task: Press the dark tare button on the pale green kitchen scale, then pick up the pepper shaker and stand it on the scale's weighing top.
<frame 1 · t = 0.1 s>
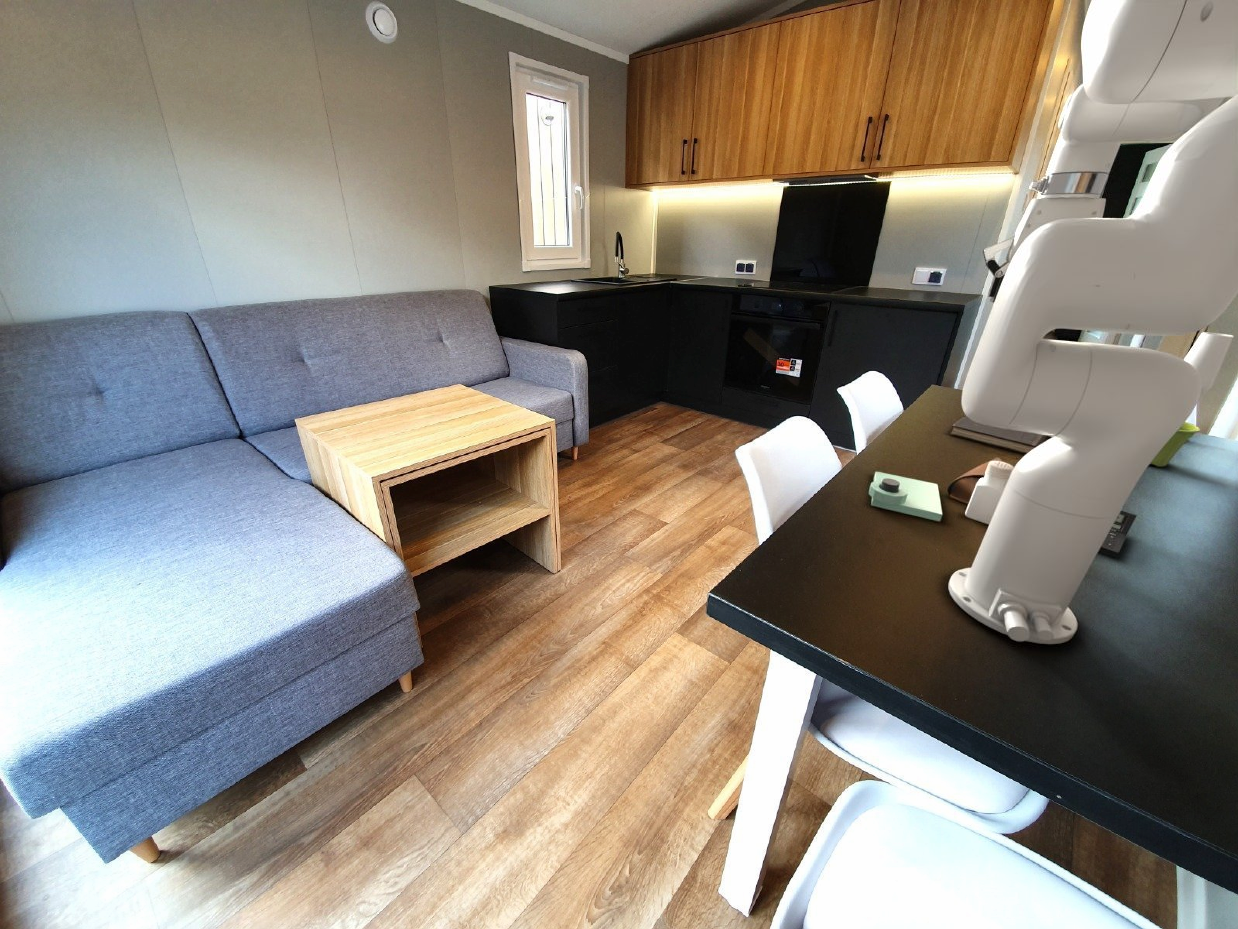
hand: (1027, 304, 83), 31 cm above the table, tool pointing down, fingers open, 9 cm apart
sunglasses case: (990, 492, 88), on the table
tare button: (889, 485, 81), point 3 cm above the table, slide at 0.1 cm
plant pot: (1145, 461, 103), on the table
scale: (904, 498, 85), on the table
hardcover book: (1001, 433, 116), on the table
pepper shaker: (979, 518, 79), on the table
champagne flute: (1161, 436, 118), on the table
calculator: (1081, 531, 77), on the table
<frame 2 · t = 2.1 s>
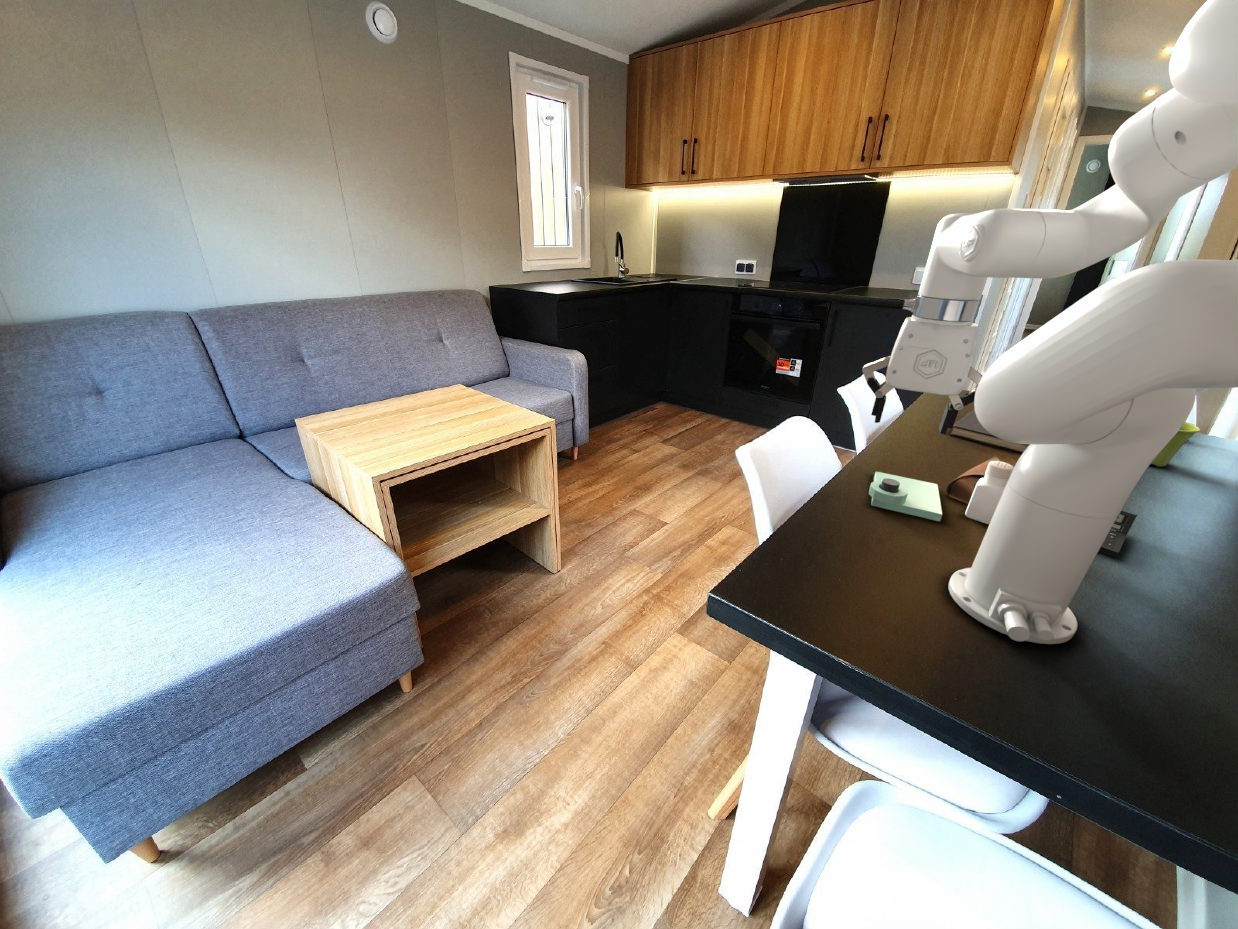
hand: (908, 425, 76), 14 cm above the table, tool pointing down, fingers open, 8 cm apart
nothing on the table moved.
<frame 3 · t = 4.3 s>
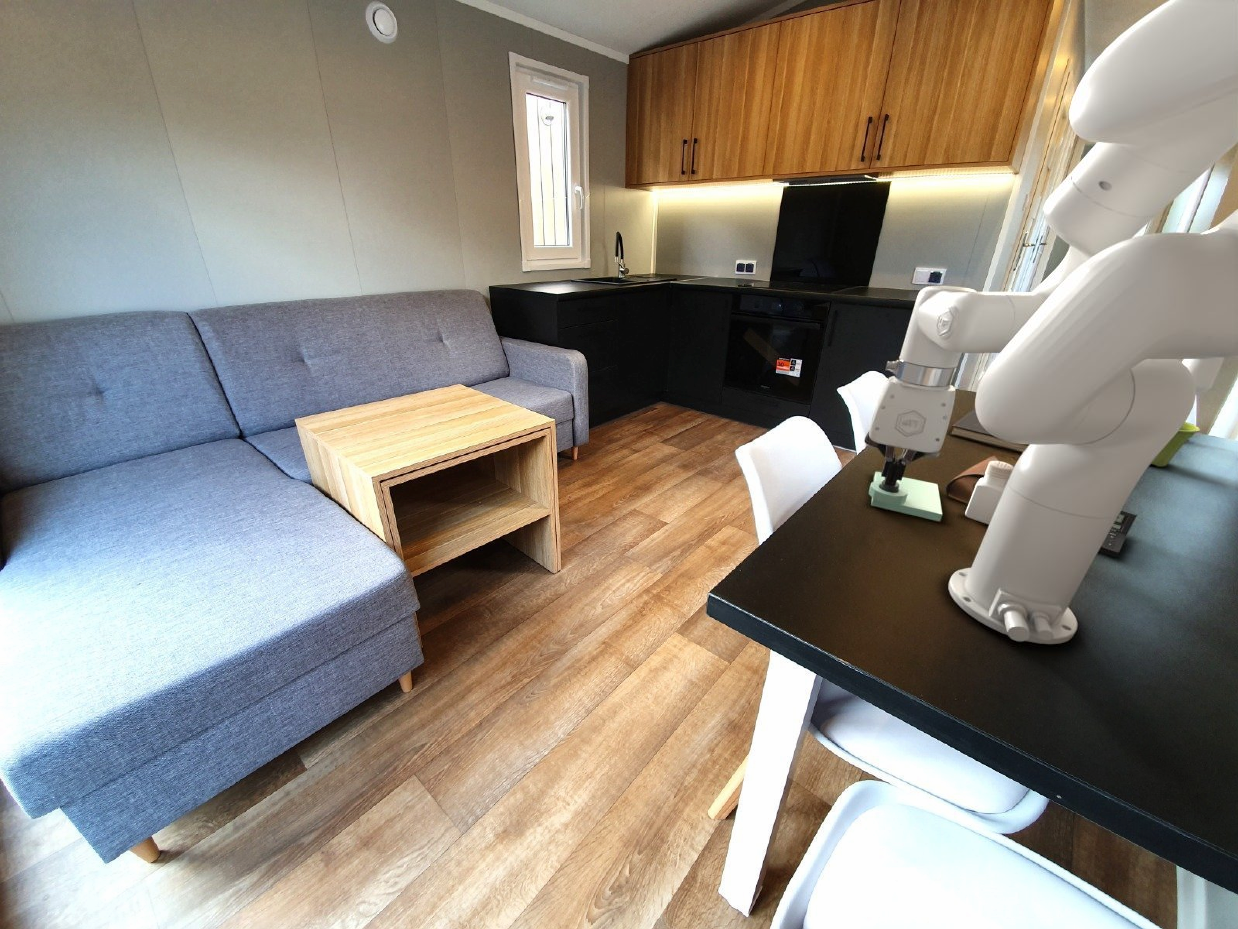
hand: (889, 481, 81), 4 cm above the table, tool pointing down, fingers closed
tare button: (889, 487, 81), point 3 cm above the table, slide at -0.1 cm, touching gripper
everything else where it was.
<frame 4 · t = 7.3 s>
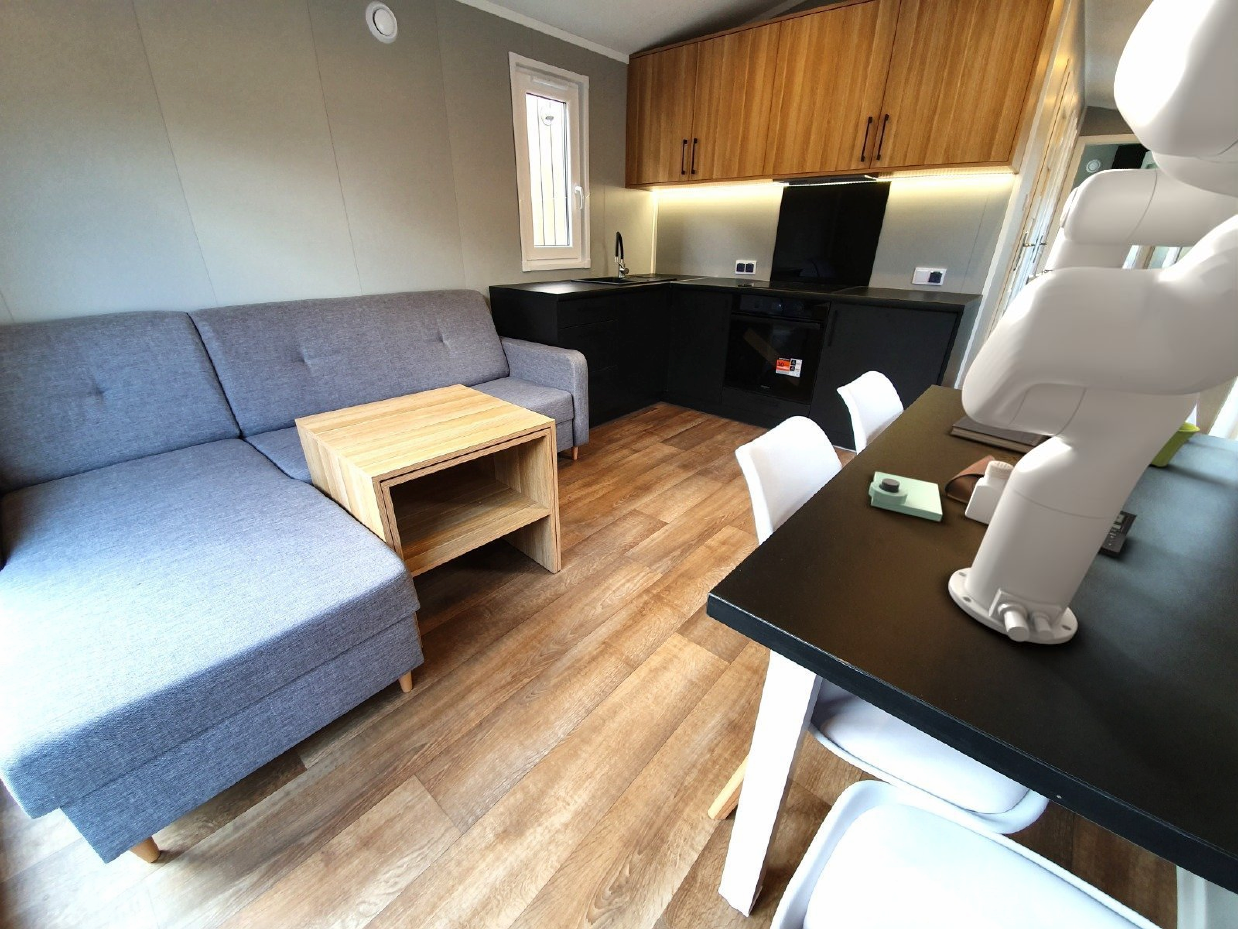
hand: (1020, 417, 72), 17 cm above the table, tool pointing down, fingers open, 3 cm apart
tare button: (889, 485, 81), point 3 cm above the table, slide at 0.1 cm
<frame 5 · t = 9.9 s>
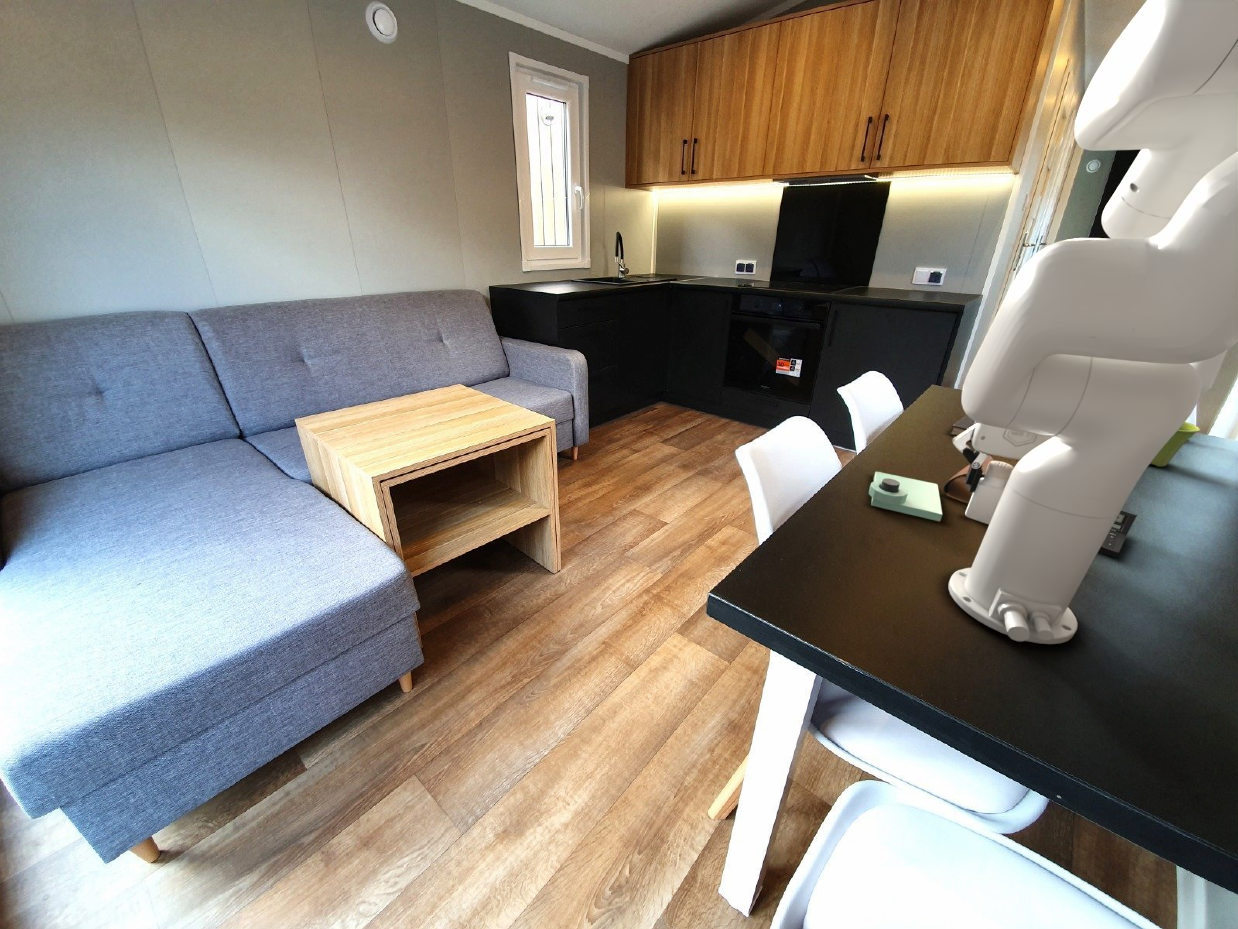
hand: (990, 491, 77), 5 cm above the table, tool pointing down, fingers closed on pepper shaker, 4 cm apart
pepper shaker: (979, 518, 79), on the table, touching gripper
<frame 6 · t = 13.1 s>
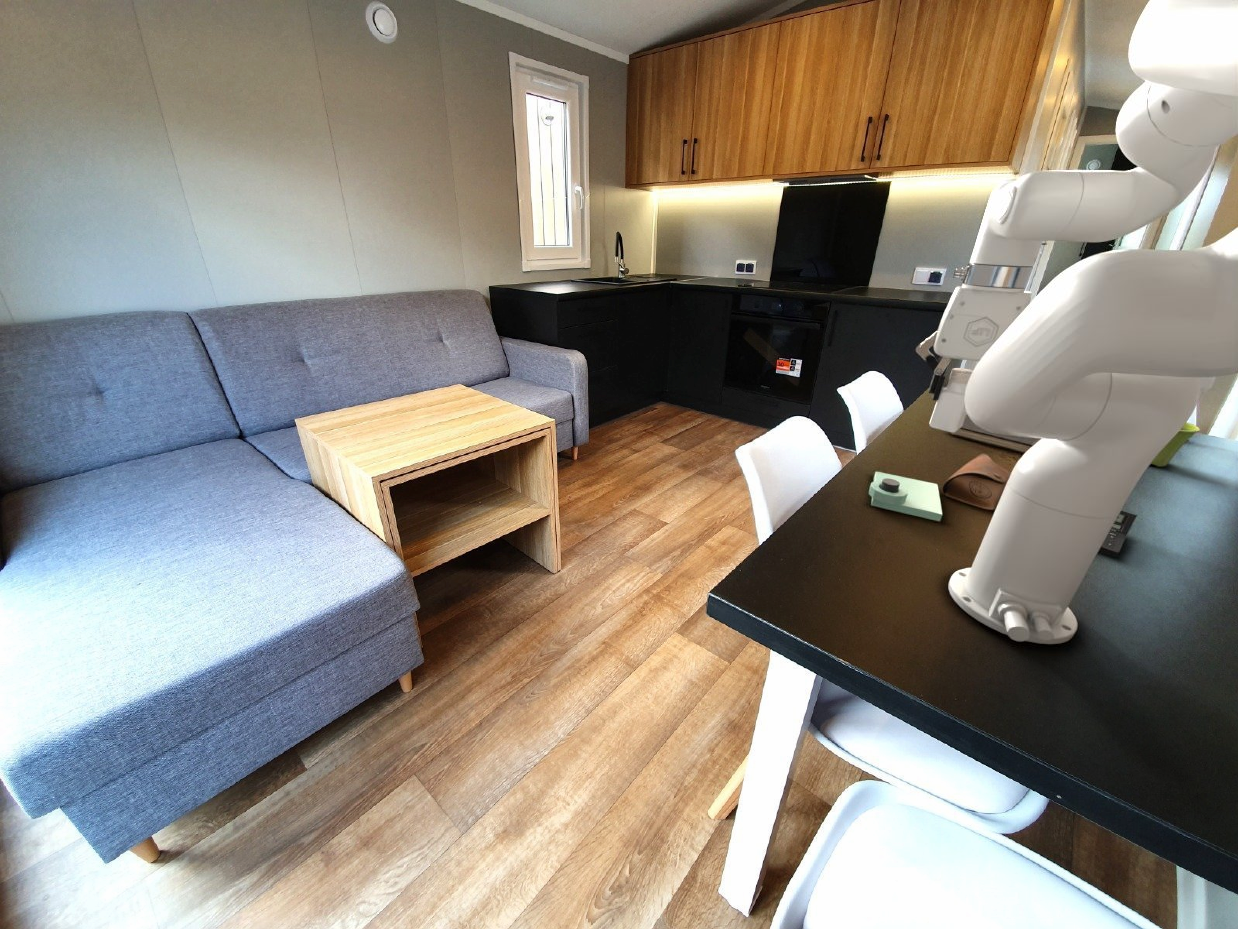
hand: (954, 400, 77), 18 cm above the table, tool pointing down, fingers closed on pepper shaker, 4 cm apart
pepper shaker: (944, 429, 80), point 13 cm above the table, touching gripper
when the fingers open (6 cm above the table, at t = 16.2 s): pepper shaker stays where it is, resting on scale.
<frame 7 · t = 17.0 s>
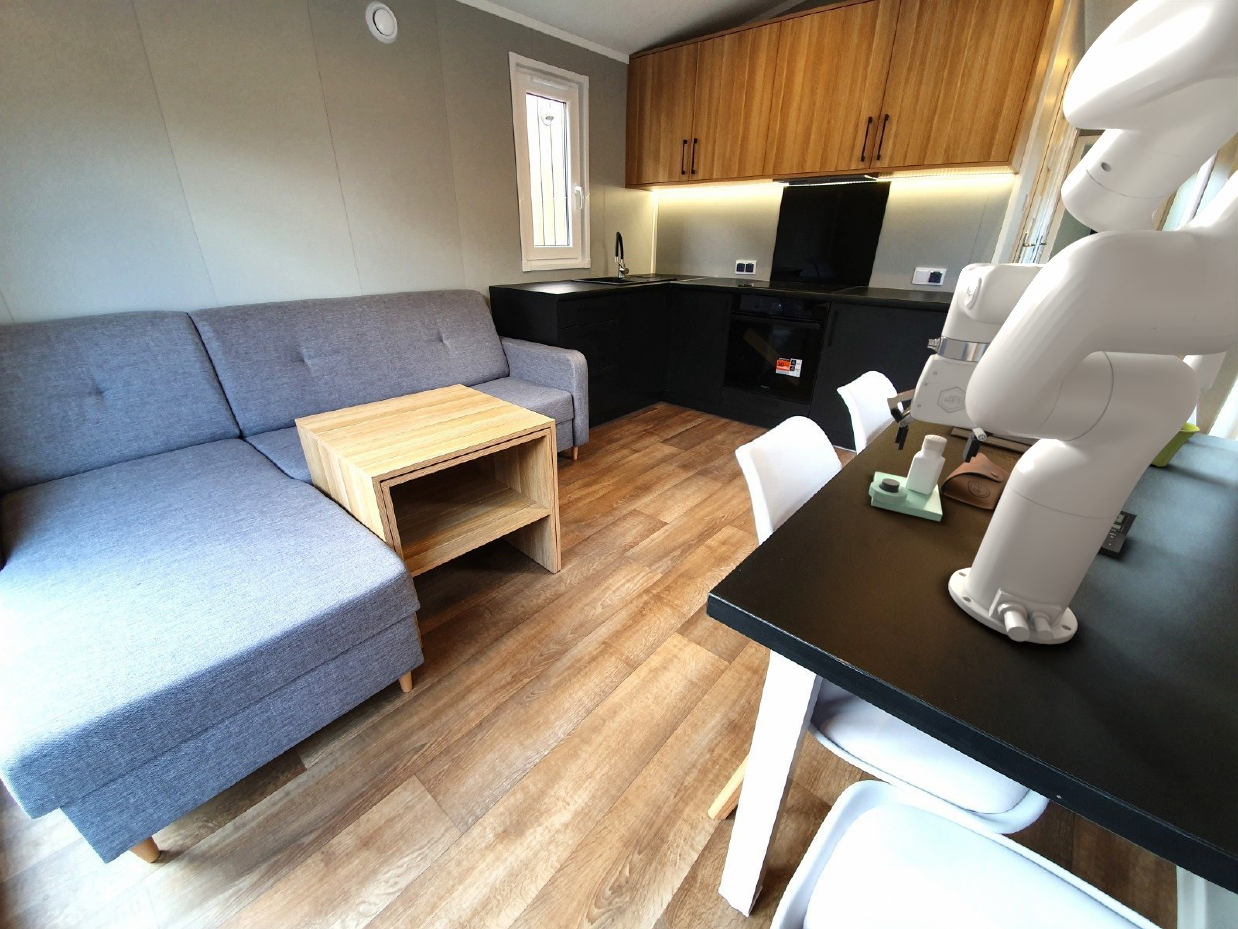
hand: (931, 453, 82), 8 cm above the table, tool pointing down, fingers open, 9 cm apart
pepper shaker: (918, 489, 85), point 1 cm above the table, touching scale
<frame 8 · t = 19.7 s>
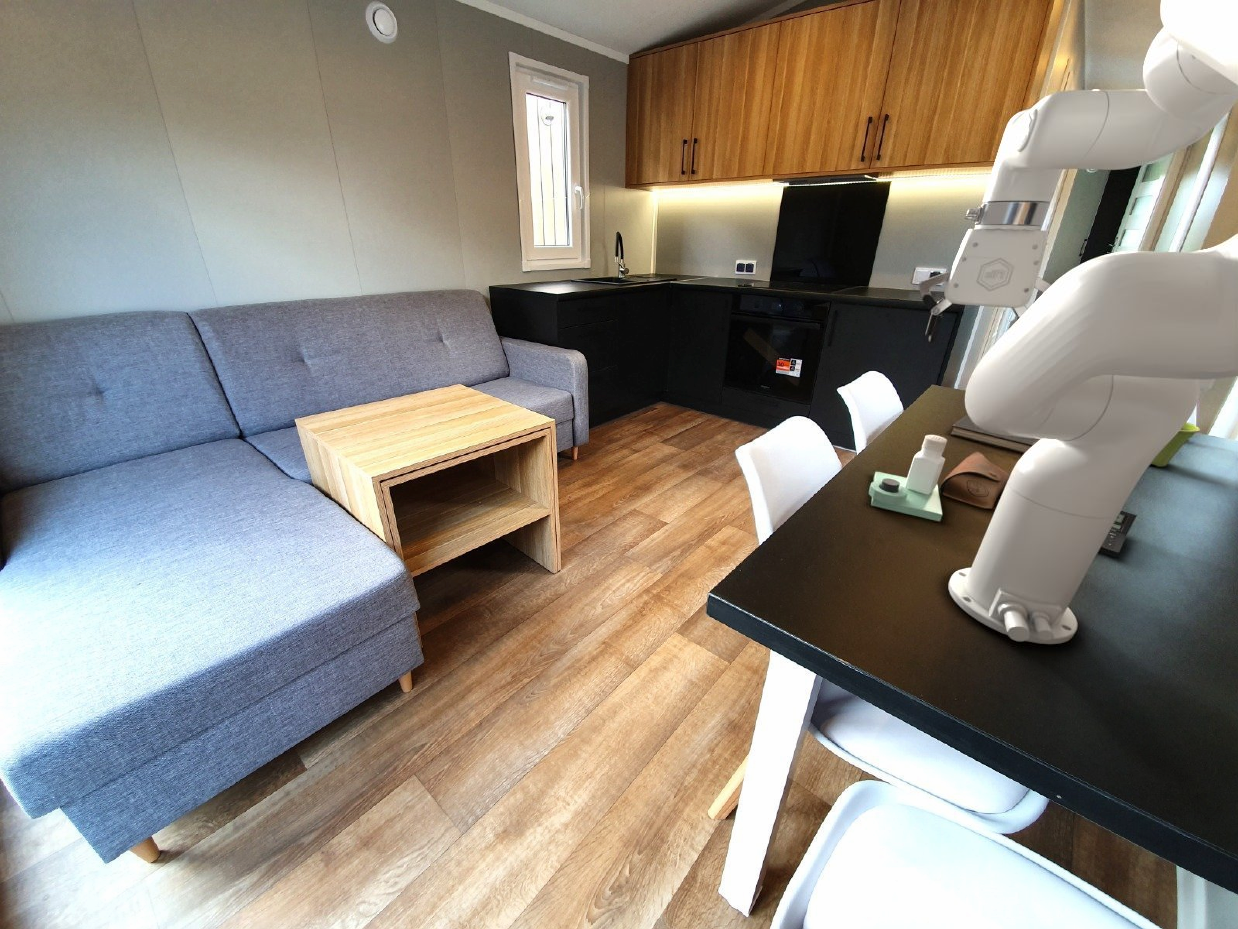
hand: (967, 344, 74), 26 cm above the table, tool pointing down, fingers open, 9 cm apart
at the end: tare button pushed in 0.9 cm at the most during the clip, back to where it started at the end; pepper shaker inside the target area on the scale (2.9 cm from its centre), point 1.2 cm above the scale's base; pepper shaker tilted 0° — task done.
